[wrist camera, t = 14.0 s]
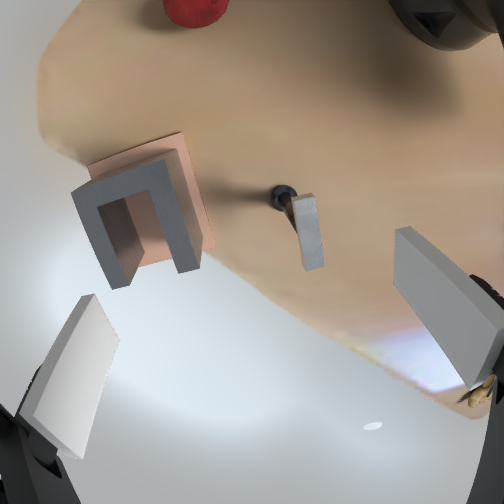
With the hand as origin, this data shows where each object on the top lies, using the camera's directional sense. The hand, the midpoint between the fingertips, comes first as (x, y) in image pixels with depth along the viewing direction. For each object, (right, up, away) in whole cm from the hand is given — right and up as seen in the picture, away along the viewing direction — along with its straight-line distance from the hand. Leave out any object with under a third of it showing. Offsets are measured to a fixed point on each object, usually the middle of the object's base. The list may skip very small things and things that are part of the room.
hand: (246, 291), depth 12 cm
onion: (-5, +26, +10) cm, 28 cm away
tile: (-11, +7, +19) cm, 23 cm away
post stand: (+4, +7, +20) cm, 22 cm away
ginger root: (+70, -36, +49) cm, 93 cm away
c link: (-11, +6, +18) cm, 22 cm away
